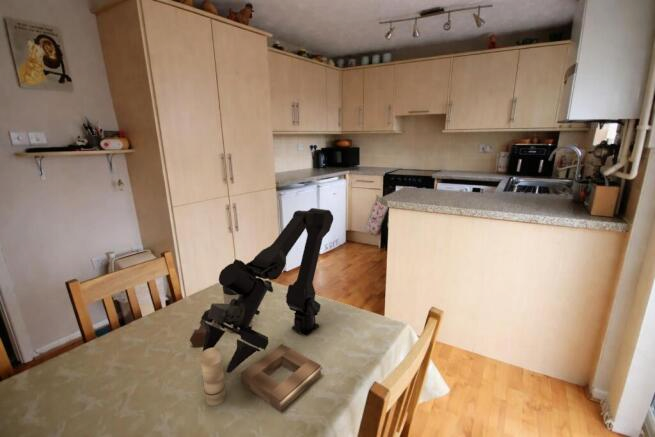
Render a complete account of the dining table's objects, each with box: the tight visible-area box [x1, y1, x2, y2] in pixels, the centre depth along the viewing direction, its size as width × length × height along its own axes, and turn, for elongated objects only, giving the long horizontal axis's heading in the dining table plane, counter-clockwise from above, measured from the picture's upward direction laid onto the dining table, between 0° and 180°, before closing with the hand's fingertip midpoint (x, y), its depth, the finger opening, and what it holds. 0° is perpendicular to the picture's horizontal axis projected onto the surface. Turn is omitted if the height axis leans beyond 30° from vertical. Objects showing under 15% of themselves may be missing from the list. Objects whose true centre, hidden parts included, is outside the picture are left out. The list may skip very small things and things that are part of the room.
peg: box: [199, 346, 227, 407], centre depth 71 cm, size 4×4×12 cm
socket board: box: [238, 343, 323, 412], centre depth 78 cm, size 14×15×3 cm
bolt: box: [189, 318, 206, 348], centre depth 98 cm, size 6×5×15 cm
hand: (215, 364), depth 71 cm, fingers open, 9 cm apart
